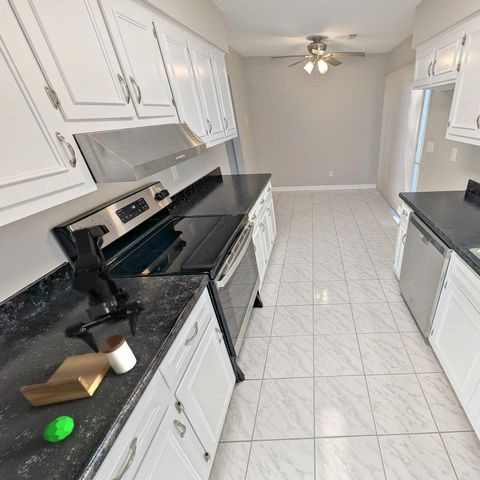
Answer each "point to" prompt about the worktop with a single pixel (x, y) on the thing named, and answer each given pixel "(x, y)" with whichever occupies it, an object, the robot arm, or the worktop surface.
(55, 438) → the polyhedron
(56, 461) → the worktop surface
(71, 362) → the wooden ramp
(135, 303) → the robot arm
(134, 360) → the cylinder
